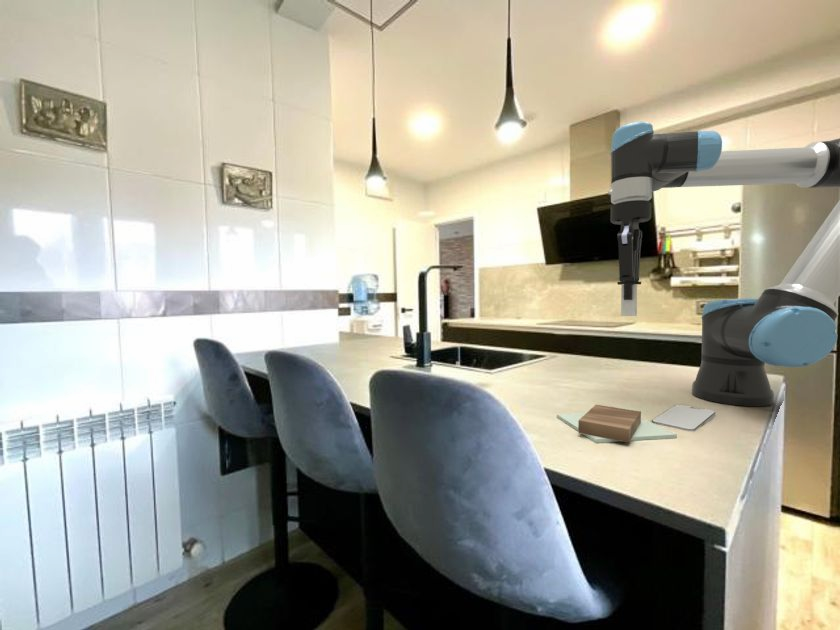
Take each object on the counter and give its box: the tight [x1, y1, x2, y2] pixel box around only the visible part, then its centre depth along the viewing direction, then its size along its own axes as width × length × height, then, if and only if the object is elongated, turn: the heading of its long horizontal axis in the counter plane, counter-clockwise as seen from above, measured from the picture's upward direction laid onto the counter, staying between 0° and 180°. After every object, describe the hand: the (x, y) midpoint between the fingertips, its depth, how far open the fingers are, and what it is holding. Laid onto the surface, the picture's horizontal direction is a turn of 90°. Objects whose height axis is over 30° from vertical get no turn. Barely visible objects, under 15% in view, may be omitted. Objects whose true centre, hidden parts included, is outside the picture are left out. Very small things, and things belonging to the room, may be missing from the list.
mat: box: [556, 412, 678, 444], centre depth 74 cm, size 15×14×1 cm
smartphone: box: [651, 404, 717, 432], centre depth 78 cm, size 7×1×15 cm
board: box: [577, 404, 642, 443], centre depth 71 cm, size 2×8×12 cm
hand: (628, 315), depth 83 cm, fingers closed
